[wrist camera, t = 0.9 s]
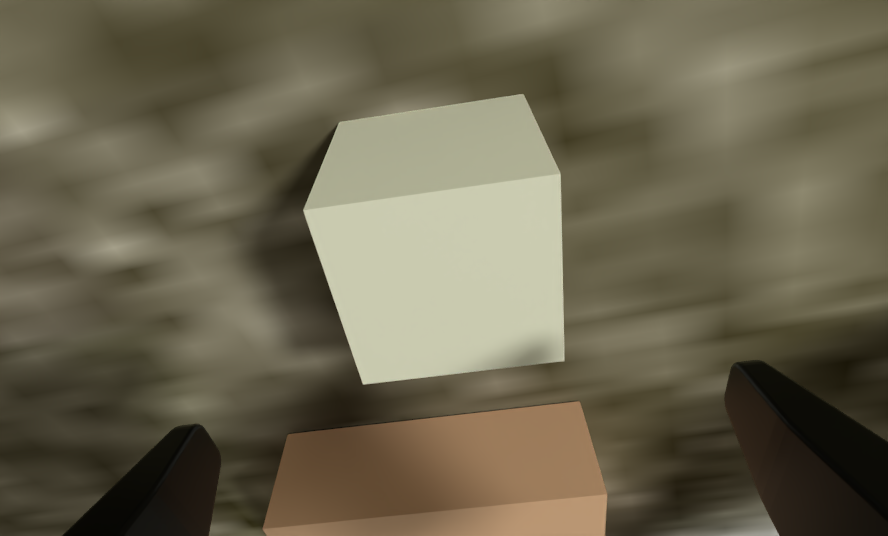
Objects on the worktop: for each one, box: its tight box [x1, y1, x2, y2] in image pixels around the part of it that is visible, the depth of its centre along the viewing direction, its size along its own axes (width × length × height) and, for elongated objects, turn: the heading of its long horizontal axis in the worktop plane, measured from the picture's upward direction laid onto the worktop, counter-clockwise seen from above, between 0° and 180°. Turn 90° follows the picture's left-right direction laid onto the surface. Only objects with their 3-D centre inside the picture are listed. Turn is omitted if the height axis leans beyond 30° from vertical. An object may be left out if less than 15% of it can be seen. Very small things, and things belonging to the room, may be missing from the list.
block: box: [303, 94, 564, 385], centre depth 14 cm, size 5×5×5 cm
